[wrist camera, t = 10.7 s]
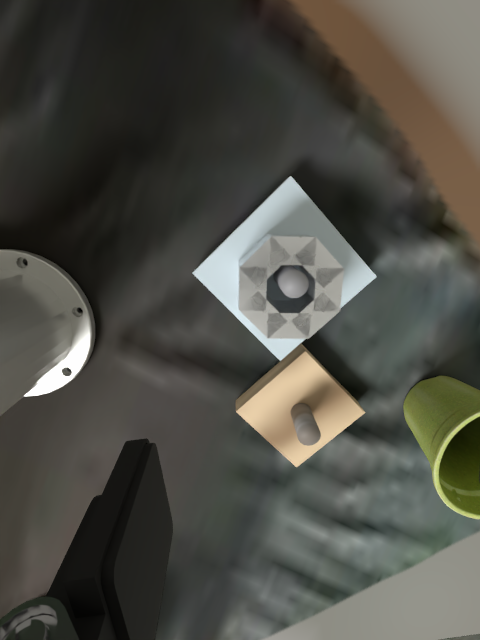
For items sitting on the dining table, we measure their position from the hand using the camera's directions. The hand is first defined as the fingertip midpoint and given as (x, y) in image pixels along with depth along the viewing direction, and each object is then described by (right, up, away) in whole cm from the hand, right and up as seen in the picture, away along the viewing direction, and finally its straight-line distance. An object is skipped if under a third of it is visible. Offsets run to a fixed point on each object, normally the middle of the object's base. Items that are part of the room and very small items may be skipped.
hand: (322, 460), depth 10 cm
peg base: (+1, +8, +19) cm, 21 cm away
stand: (+3, -4, +23) cm, 23 cm away
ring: (+1, +7, +17) cm, 19 cm away
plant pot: (+16, -4, +23) cm, 29 cm away
